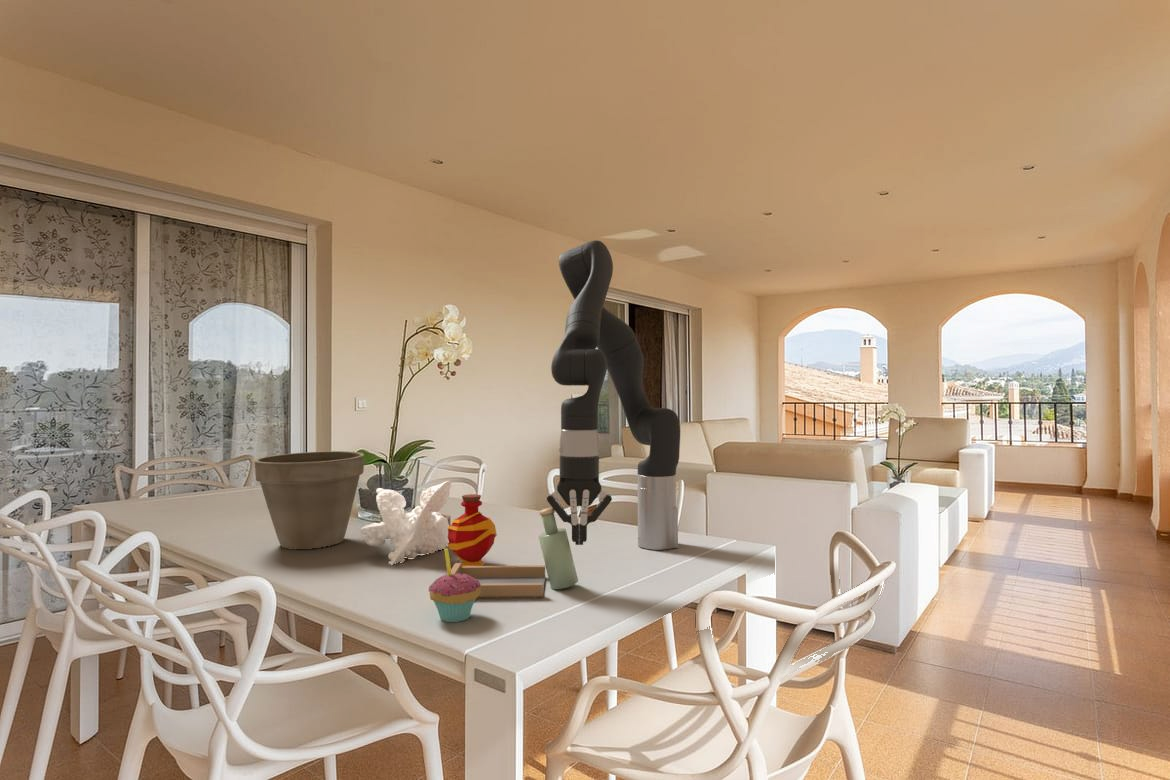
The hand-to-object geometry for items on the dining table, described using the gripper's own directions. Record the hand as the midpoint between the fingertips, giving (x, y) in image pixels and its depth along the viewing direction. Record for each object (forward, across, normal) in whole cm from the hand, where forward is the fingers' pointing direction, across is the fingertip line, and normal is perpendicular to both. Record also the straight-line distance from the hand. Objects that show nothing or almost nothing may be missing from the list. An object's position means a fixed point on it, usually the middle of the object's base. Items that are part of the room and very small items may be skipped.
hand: (579, 543), depth 124 cm
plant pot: (+9, +65, -39) cm, 77 cm away
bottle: (+8, +3, 0) cm, 8 cm away
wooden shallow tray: (+8, +16, 0) cm, 18 cm away
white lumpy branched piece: (+9, +38, -27) cm, 48 cm away
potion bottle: (+8, +22, -16) cm, 29 cm away
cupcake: (+9, +21, +16) cm, 27 cm away
